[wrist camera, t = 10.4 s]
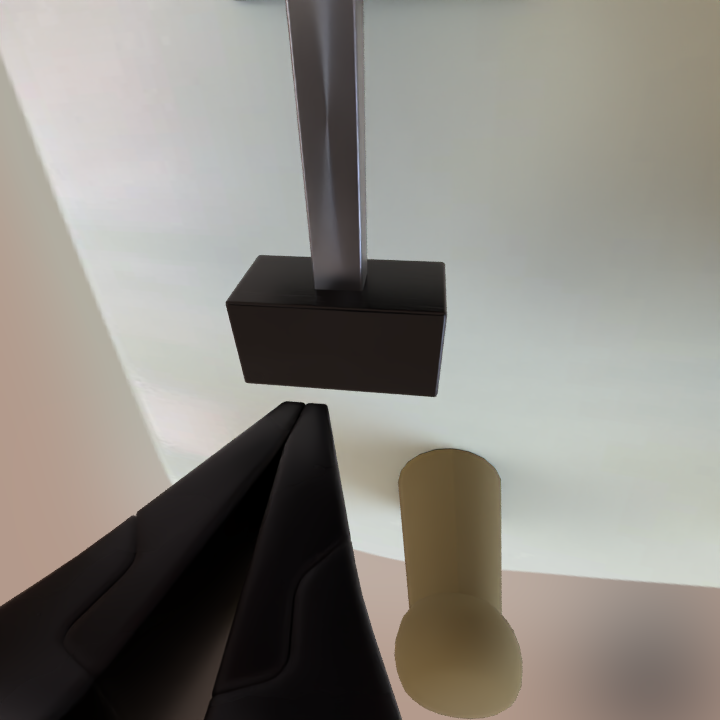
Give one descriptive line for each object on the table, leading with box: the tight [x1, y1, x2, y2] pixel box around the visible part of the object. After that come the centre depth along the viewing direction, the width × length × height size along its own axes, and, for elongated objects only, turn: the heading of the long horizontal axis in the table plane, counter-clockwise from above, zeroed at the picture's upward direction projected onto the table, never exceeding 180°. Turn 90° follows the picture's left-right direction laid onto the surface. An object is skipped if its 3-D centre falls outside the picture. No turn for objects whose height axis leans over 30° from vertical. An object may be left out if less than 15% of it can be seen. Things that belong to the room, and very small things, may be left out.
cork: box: [395, 449, 522, 719], centre depth 21 cm, size 6×6×11 cm
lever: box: [226, 0, 447, 397], centre depth 8 cm, size 13×5×3 cm, turn 0°
